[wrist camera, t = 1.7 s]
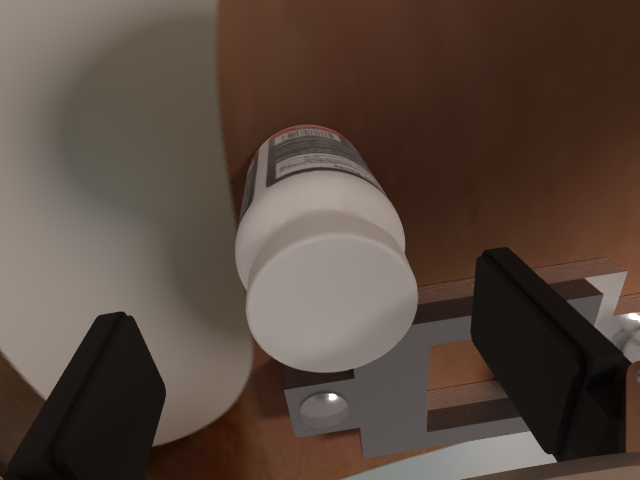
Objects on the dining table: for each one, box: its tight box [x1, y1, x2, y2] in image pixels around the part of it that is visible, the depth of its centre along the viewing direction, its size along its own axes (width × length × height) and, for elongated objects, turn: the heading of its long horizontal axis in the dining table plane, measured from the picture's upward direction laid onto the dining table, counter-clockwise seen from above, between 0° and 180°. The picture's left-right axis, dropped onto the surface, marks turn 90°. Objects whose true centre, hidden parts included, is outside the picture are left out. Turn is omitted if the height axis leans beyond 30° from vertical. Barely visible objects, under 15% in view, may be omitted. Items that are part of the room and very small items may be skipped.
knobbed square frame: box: [283, 257, 640, 459], centre depth 24 cm, size 24×11×3 cm, turn 97°
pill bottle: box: [235, 125, 418, 372], centre depth 15 cm, size 6×6×10 cm
